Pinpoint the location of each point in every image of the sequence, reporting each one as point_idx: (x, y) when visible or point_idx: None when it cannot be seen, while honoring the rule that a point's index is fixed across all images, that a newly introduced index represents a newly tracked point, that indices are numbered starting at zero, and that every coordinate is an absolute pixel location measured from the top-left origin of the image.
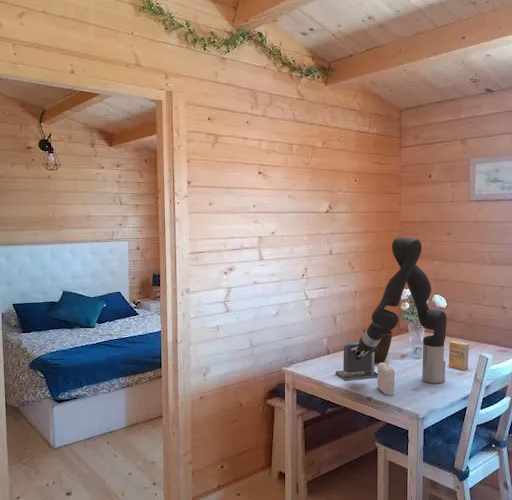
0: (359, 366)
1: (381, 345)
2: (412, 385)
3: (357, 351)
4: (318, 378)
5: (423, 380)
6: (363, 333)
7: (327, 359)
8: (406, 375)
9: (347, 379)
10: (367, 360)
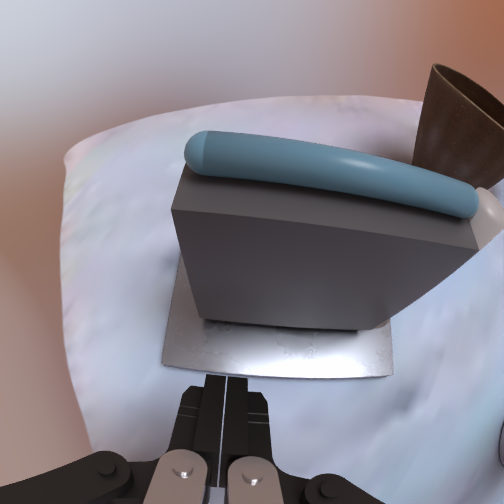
0: (298, 316)
1: (484, 170)
2: (448, 493)
3: (151, 495)
4: (72, 270)
5: (500, 440)
6: (431, 74)
7: (262, 112)
8: (484, 369)
9: (176, 366)
10: (376, 306)
